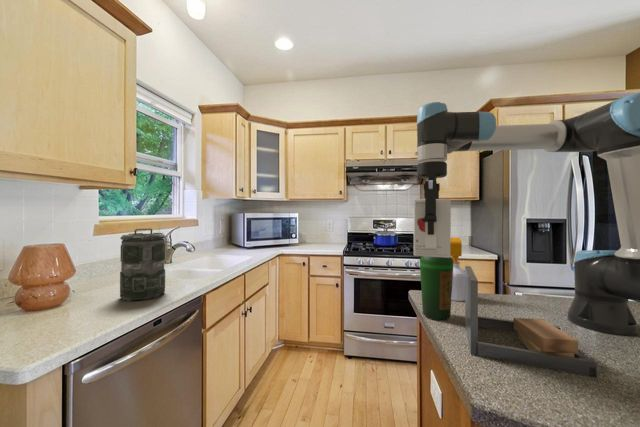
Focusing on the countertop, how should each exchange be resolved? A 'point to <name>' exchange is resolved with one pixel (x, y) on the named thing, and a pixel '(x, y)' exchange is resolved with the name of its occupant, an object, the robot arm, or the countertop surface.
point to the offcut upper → (546, 336)
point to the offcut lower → (534, 348)
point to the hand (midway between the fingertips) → (431, 245)
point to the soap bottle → (457, 271)
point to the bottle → (436, 286)
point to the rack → (511, 354)
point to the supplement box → (442, 229)
